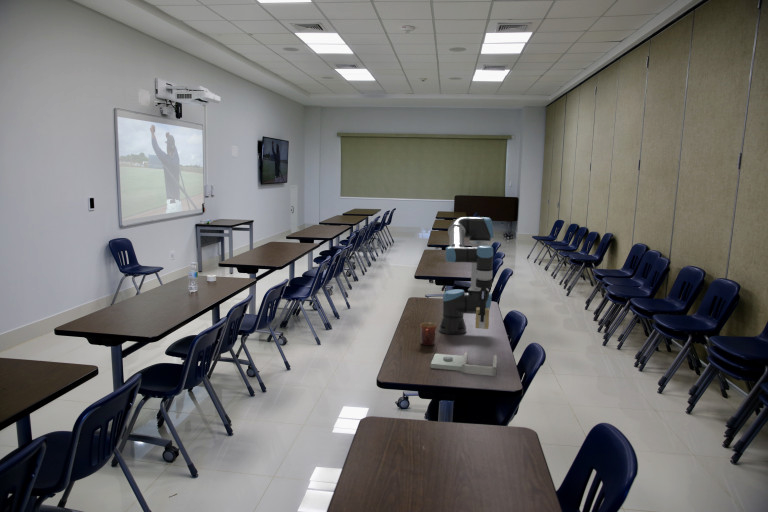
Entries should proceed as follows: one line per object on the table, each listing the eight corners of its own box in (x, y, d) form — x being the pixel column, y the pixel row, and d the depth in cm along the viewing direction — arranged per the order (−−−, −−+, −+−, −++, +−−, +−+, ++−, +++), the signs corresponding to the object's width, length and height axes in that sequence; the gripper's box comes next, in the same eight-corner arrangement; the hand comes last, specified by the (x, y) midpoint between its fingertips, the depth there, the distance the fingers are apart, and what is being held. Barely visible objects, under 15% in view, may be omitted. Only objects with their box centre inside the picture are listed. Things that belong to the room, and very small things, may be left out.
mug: (420, 340, 268) (420, 321, 266) (437, 341, 266) (437, 322, 264) (417, 347, 256) (417, 328, 255) (434, 349, 254) (435, 329, 253)
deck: (435, 356, 243) (435, 350, 242) (496, 362, 236) (496, 355, 236) (429, 369, 227) (430, 362, 226) (495, 376, 220) (496, 368, 219)
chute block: (476, 325, 244) (476, 307, 242) (488, 326, 242) (489, 307, 241) (475, 328, 239) (476, 309, 238) (488, 329, 238) (489, 310, 236)
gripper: (477, 274, 247) (475, 320, 250) (474, 282, 229) (472, 331, 233) (492, 275, 245) (490, 321, 248) (491, 283, 228) (489, 332, 231)
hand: (482, 326), depth 241 cm, fingers closed on chute block, 5 cm apart
